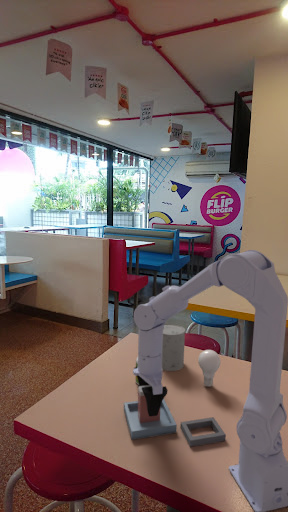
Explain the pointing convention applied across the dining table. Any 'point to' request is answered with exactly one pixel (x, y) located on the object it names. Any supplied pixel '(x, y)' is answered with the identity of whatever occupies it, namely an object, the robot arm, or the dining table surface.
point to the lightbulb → (209, 365)
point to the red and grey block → (144, 408)
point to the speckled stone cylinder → (173, 347)
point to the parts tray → (149, 428)
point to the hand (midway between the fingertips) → (149, 404)
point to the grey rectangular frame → (202, 439)
